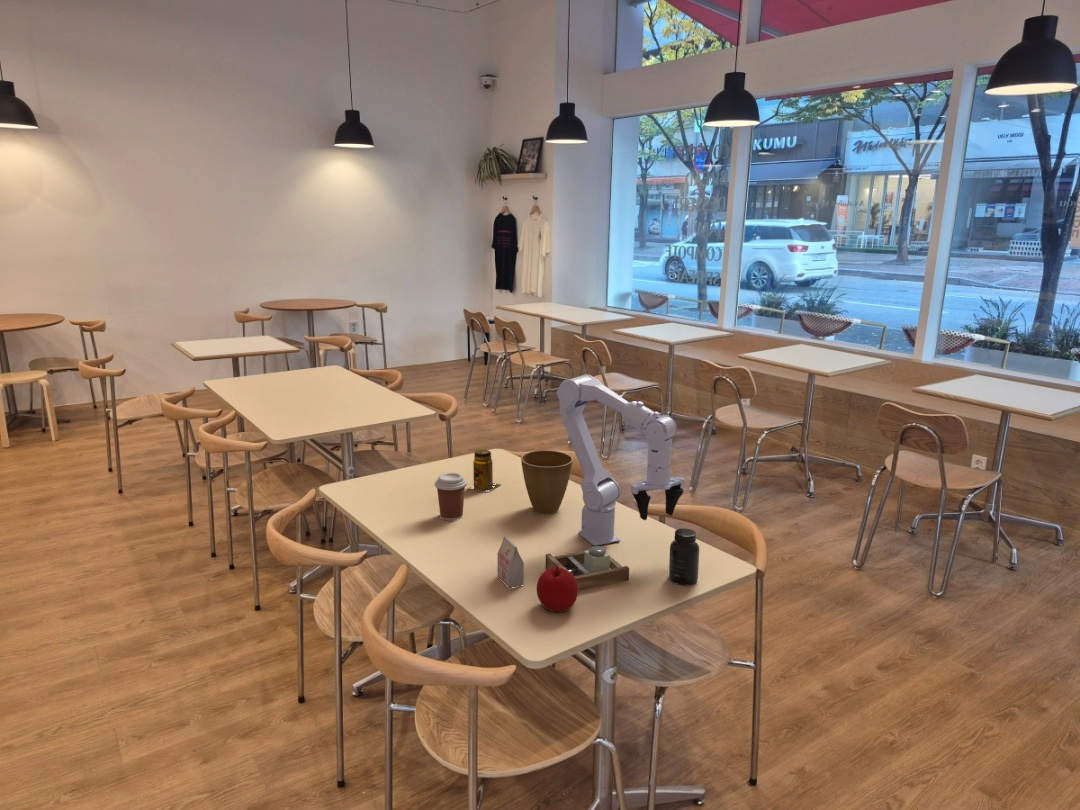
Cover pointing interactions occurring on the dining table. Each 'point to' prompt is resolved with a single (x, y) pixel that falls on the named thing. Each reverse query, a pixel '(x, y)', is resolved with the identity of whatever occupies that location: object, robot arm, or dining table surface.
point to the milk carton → (510, 564)
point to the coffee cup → (451, 495)
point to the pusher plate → (575, 567)
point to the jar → (596, 559)
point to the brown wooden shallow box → (591, 579)
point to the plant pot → (546, 478)
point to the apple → (557, 589)
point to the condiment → (483, 471)
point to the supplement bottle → (684, 557)
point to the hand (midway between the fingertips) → (656, 516)
